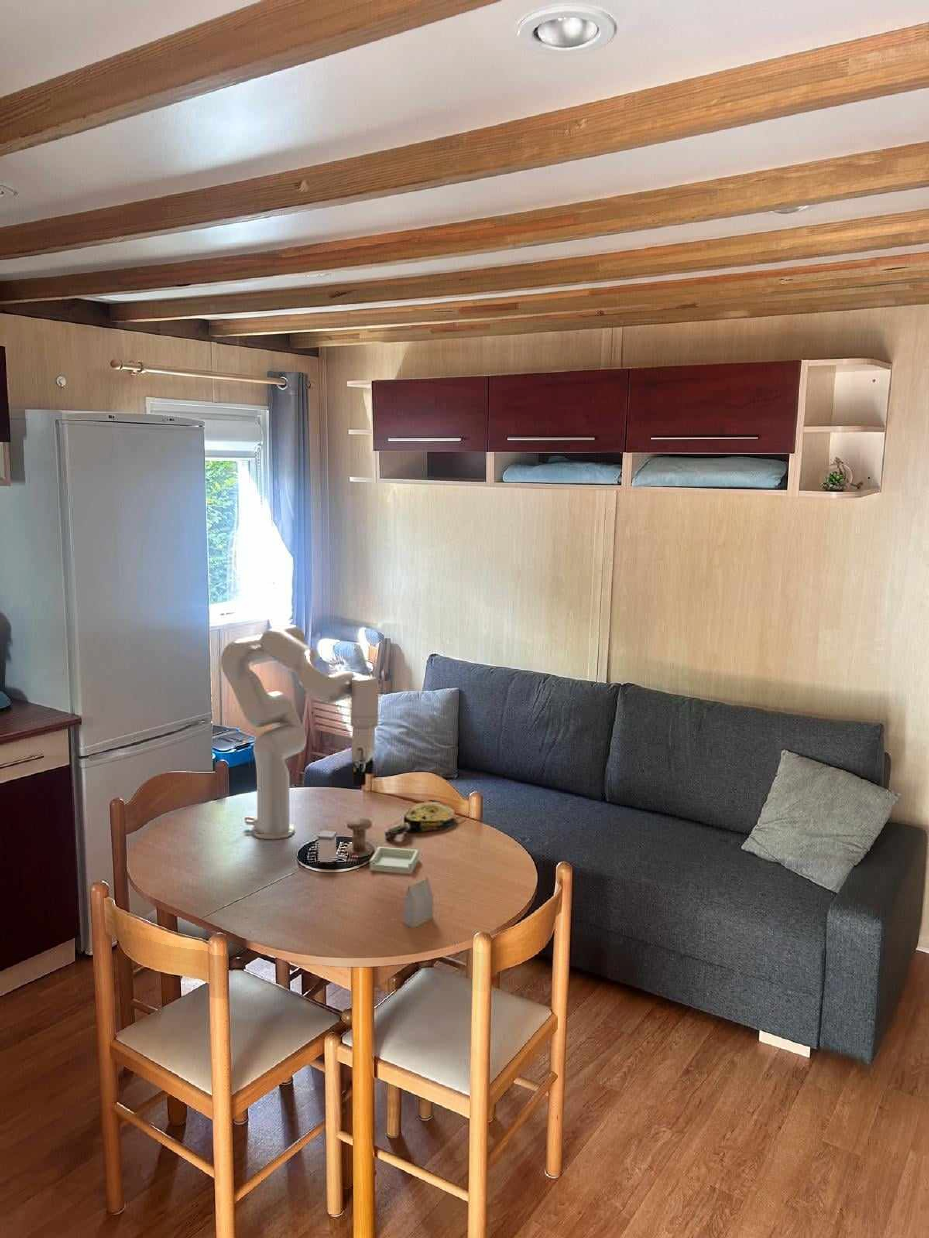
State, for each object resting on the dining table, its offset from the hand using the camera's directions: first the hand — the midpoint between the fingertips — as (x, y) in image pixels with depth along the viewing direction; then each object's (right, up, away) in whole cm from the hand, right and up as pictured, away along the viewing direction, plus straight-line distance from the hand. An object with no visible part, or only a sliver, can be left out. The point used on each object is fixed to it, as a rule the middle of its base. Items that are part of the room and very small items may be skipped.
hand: (363, 779), depth 266 cm
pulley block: (+15, -20, +26) cm, 36 cm away
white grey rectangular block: (-10, -23, -1) cm, 25 cm away
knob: (-2, -22, +5) cm, 23 cm away
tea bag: (+17, -29, -34) cm, 48 cm away
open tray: (+9, -24, -3) cm, 25 cm away
